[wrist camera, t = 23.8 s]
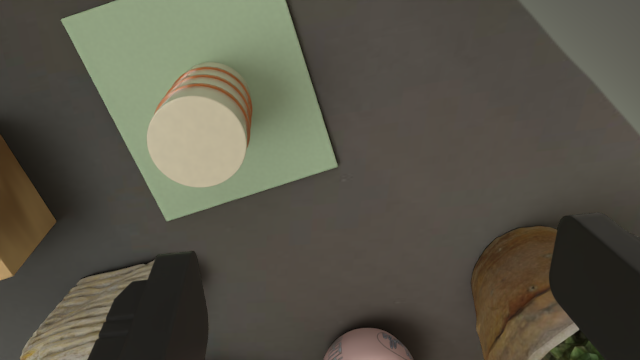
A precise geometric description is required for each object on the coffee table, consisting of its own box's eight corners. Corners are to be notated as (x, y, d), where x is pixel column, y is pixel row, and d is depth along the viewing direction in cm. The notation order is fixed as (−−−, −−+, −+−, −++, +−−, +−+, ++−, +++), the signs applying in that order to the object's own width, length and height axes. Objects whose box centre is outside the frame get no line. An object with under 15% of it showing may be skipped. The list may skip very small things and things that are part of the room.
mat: (63, 18, 35) (60, 19, 35) (269, -52, 35) (269, -52, 34) (167, 218, 43) (166, 221, 42) (337, 164, 42) (338, 166, 42)
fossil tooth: (208, 284, 48) (66, 340, 47) (180, 236, 45) (28, 295, 44) (208, 375, 38) (27, 447, 37) (172, 320, 35) (-25, 398, 34)
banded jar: (159, 74, 37) (124, 112, 28) (236, 49, 37) (226, 79, 28) (192, 146, 40) (170, 202, 31) (264, 123, 40) (263, 172, 30)
